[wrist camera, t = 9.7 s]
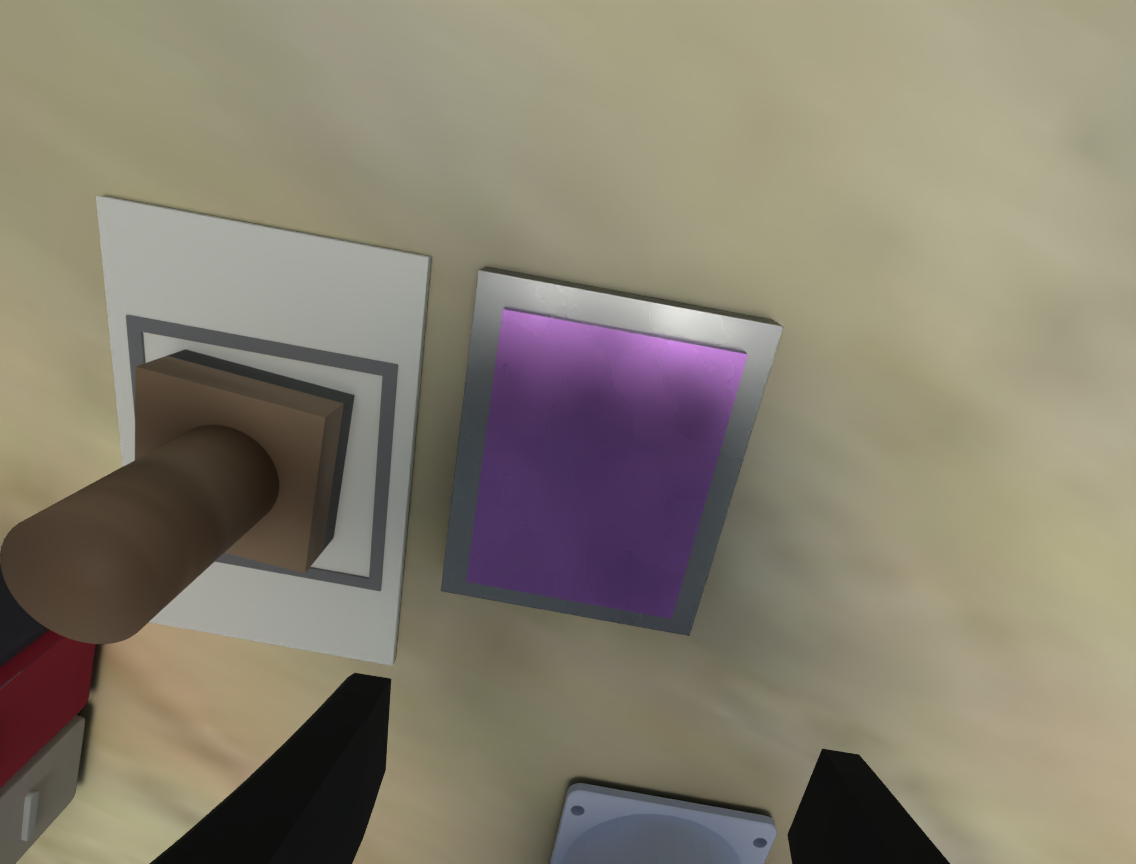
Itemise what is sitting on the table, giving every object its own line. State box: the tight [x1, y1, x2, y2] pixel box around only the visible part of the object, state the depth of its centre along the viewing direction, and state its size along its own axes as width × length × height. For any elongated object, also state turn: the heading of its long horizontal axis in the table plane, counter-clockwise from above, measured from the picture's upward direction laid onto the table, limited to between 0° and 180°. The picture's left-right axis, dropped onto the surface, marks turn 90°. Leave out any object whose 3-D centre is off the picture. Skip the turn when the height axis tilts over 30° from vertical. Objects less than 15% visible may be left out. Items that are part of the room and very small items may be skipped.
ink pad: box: [441, 267, 783, 636], centre depth 18 cm, size 10×8×1 cm
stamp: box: [0, 349, 355, 644], centre depth 15 cm, size 5×5×7 cm
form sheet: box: [96, 196, 432, 666], centre depth 19 cm, size 14×9×1 cm, turn 170°
